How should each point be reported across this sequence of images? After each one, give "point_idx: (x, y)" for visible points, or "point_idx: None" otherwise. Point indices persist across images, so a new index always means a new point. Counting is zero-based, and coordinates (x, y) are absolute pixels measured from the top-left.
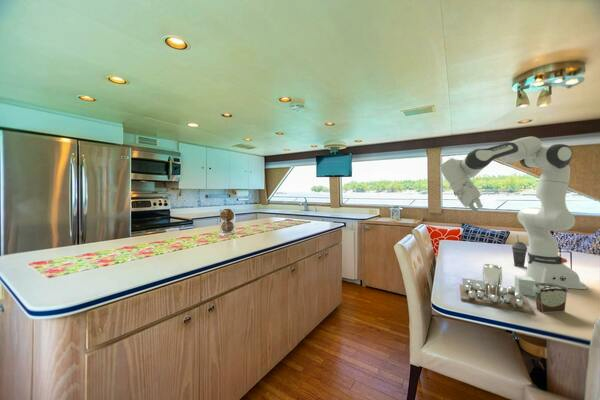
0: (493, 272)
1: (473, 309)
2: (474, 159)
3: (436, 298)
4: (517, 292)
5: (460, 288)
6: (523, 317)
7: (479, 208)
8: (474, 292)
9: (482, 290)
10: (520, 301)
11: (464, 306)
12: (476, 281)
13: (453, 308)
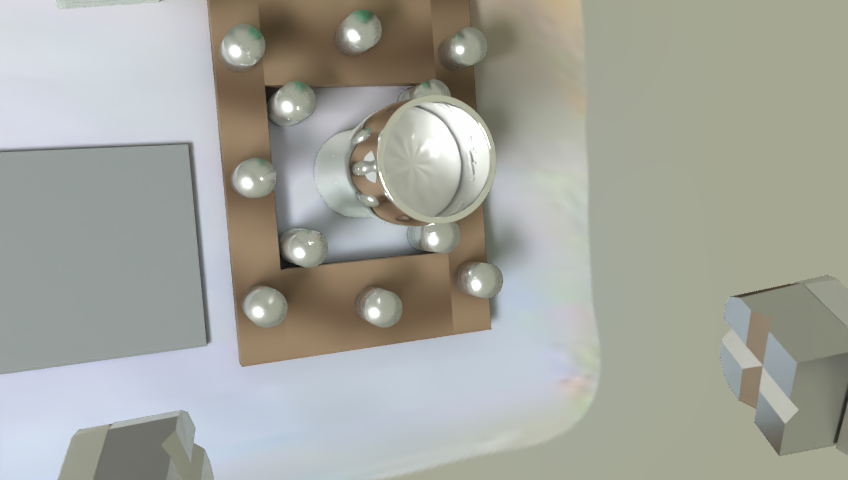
0: (482, 158)
1: (559, 263)
2: None
3: (523, 443)
4: (123, 4)
5: (330, 352)
6: (526, 56)
7: (739, 353)
8: (485, 267)
9: (275, 223)
10: (485, 43)
11: (547, 303)
12: (29, 265)
13: (597, 346)
